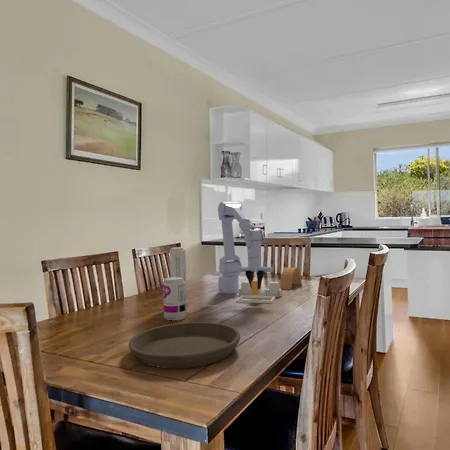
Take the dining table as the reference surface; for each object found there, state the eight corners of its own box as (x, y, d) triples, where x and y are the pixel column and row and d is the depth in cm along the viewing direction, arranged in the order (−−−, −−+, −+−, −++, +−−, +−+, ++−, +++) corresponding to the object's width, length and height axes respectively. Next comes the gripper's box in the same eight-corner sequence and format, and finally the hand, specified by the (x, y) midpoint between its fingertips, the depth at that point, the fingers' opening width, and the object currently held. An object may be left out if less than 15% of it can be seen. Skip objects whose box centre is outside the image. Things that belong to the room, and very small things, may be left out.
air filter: (190, 305, 170) (187, 246, 170) (182, 309, 165) (179, 248, 164) (177, 304, 173) (174, 246, 173) (168, 308, 167) (166, 248, 167)
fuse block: (237, 298, 182) (237, 290, 182) (241, 295, 189) (241, 287, 189) (280, 299, 176) (279, 291, 176) (282, 296, 183) (282, 288, 183)
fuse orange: (253, 293, 174) (253, 279, 174) (259, 293, 173) (259, 279, 173) (251, 295, 170) (251, 280, 170) (257, 295, 170) (257, 280, 169)
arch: (301, 284, 212) (301, 265, 212) (291, 291, 194) (290, 270, 194) (291, 283, 215) (290, 265, 215) (279, 290, 197) (279, 270, 197)
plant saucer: (105, 366, 104) (104, 348, 104) (164, 332, 133) (163, 318, 133) (216, 379, 93) (215, 359, 93) (254, 339, 122) (254, 324, 122)
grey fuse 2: (269, 296, 180) (268, 282, 180) (270, 294, 182) (270, 281, 182) (278, 296, 179) (277, 282, 179) (279, 295, 181) (278, 281, 181)
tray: (236, 304, 170) (235, 299, 170) (241, 299, 179) (241, 295, 179) (271, 305, 165) (271, 300, 165) (275, 300, 174) (275, 296, 174)
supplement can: (168, 322, 144) (166, 280, 144) (161, 317, 152) (159, 278, 151) (189, 319, 148) (187, 278, 148) (181, 314, 155) (179, 275, 155)
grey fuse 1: (241, 295, 184) (240, 282, 184) (242, 294, 186) (242, 281, 186) (249, 295, 183) (249, 282, 183) (251, 294, 185) (250, 281, 185)
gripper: (235, 258, 170) (236, 290, 170) (269, 257, 166) (270, 290, 166) (239, 256, 177) (241, 287, 177) (272, 256, 172) (273, 287, 173)
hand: (255, 288), depth 172 cm, fingers closed on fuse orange, 2 cm apart
